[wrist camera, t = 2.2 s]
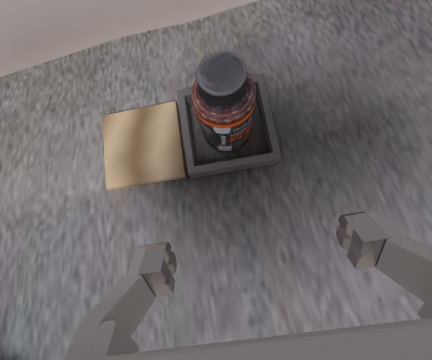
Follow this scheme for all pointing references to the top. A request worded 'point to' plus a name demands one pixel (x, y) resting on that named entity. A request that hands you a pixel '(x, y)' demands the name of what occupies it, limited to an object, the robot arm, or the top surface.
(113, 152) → the coaster
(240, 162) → the holder
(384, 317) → the top surface
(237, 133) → the supplement bottle
